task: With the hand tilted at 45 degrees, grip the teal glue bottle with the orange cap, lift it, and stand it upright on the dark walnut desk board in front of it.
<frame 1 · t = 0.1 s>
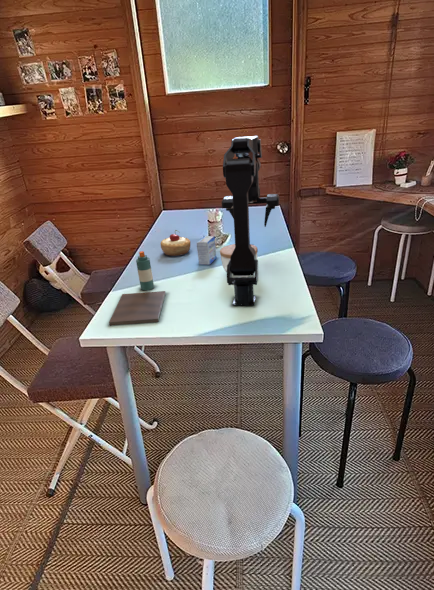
hand: (251, 227, 148), 15 cm above the table, tool pointing down, fingers open, 9 cm apart
desk board: (139, 308, 132), on the table
medicine box: (207, 261, 165), on the table
lidded bowl: (240, 275, 150), on the table
glue bottle: (147, 287, 146), on the table
pastry: (176, 253, 177), on the table
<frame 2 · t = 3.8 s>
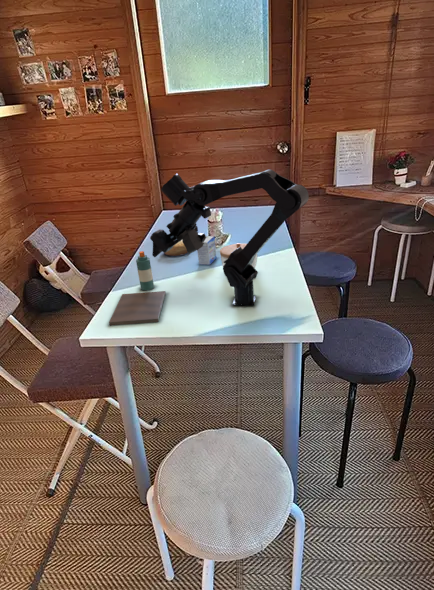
hand: (162, 251, 136), 13 cm above the table, tool tilted 45°, fingers open, 9 cm apart
nothing on the table moved.
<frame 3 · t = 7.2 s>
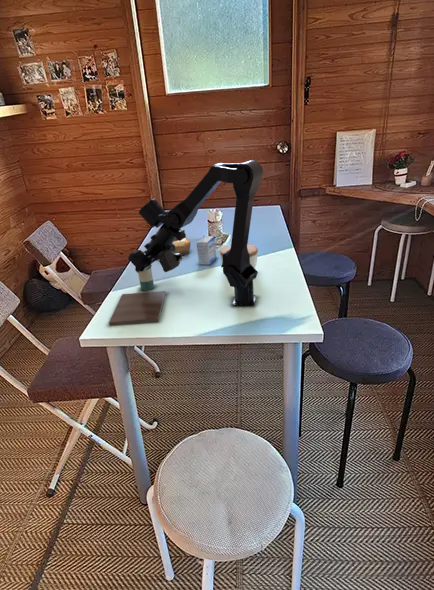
hand: (141, 268, 144), 7 cm above the table, tool tilted 45°, fingers closed on glue bottle, 4 cm apart
glue bottle: (147, 287, 146), on the table, touching gripper
everything else where it was.
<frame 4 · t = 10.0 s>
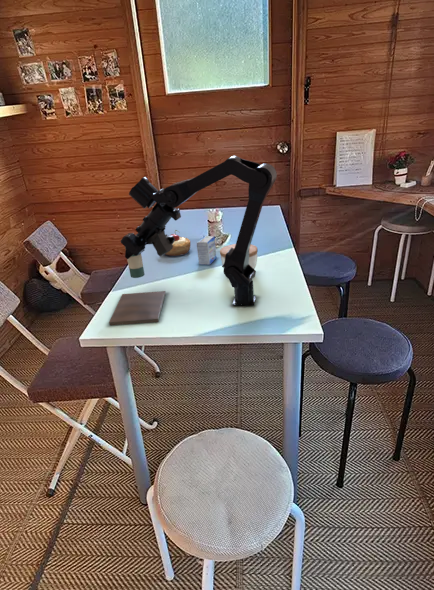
hand: (130, 255, 135), 13 cm above the table, tool tilted 45°, fingers closed on glue bottle, 4 cm apart
glue bottle: (137, 275, 138), point 7 cm above the table, touching gripper
everything else where it was.
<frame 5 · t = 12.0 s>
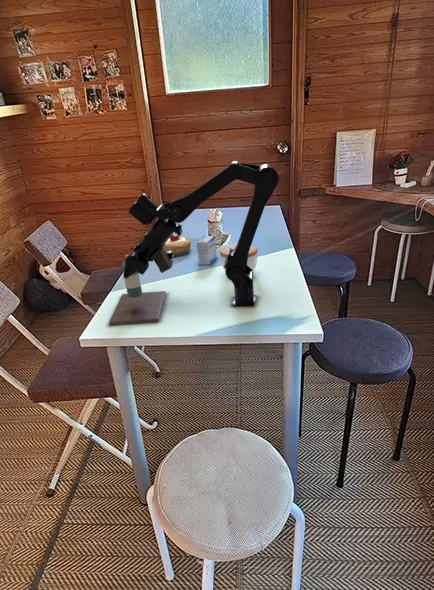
hand: (126, 274, 129), 10 cm above the table, tool tilted 45°, fingers closed on glue bottle, 4 cm apart
glue bottle: (135, 294, 132), point 4 cm above the table, touching gripper
everything else where it was.
when the fingers open (8 cm above the table, at t = 13.2 s): glue bottle stays where it is, resting on desk board.
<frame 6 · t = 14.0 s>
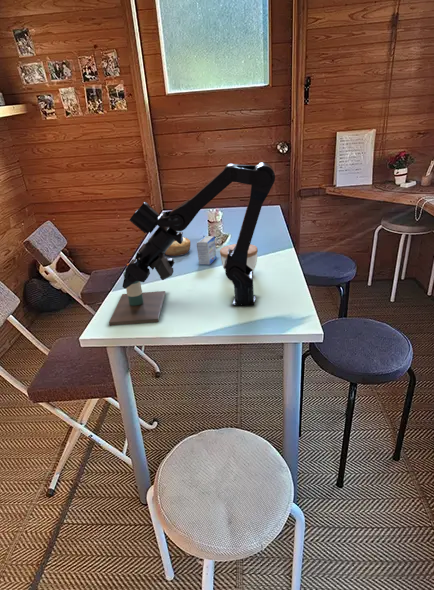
hand: (127, 281, 130), 8 cm above the table, tool tilted 45°, fingers open, 9 cm apart
glue bottle: (136, 302, 134), point 1 cm above the table, touching desk board
everything else where it was.
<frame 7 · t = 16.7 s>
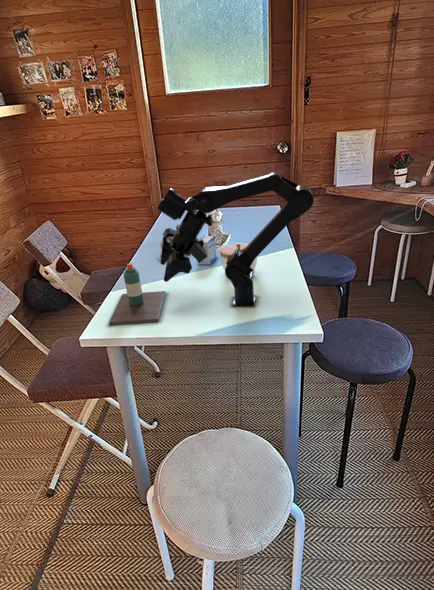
hand: (163, 272, 130), 10 cm above the table, tool tilted 35°, fingers open, 9 cm apart
nothing on the table moved.
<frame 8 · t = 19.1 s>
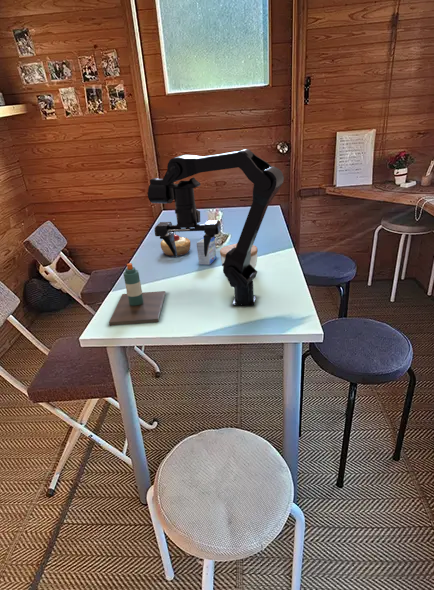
hand: (190, 256, 131), 13 cm above the table, tool pointing down, fingers open, 9 cm apart
nothing on the table moved.
at the end: glue bottle inside the target area on the desk board (2.5 cm from its centre), point 1.0 cm above the desk board's base; glue bottle tilted 0°; the gripper is holding nothing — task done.
